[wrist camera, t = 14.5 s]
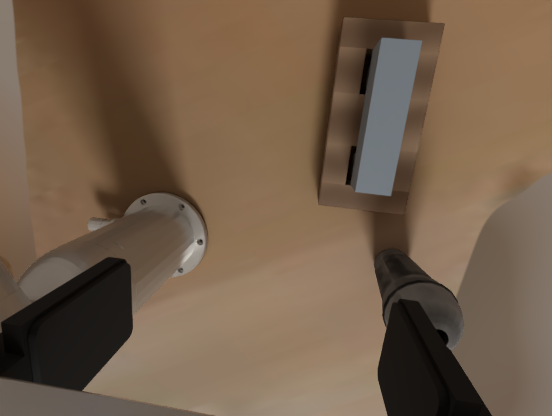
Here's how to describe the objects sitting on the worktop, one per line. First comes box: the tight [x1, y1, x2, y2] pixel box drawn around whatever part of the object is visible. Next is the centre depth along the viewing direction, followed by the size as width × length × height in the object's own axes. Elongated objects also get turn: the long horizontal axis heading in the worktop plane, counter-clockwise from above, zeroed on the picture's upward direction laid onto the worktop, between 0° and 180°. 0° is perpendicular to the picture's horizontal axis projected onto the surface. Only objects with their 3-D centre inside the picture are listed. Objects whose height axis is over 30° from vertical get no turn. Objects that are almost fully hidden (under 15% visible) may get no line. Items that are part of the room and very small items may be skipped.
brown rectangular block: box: [318, 17, 445, 215], centre depth 35 cm, size 20×10×4 cm, turn 175°
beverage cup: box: [374, 249, 464, 350], centre depth 31 cm, size 7×7×20 cm
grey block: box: [351, 38, 422, 196], centre depth 33 cm, size 14×4×9 cm, turn 175°
